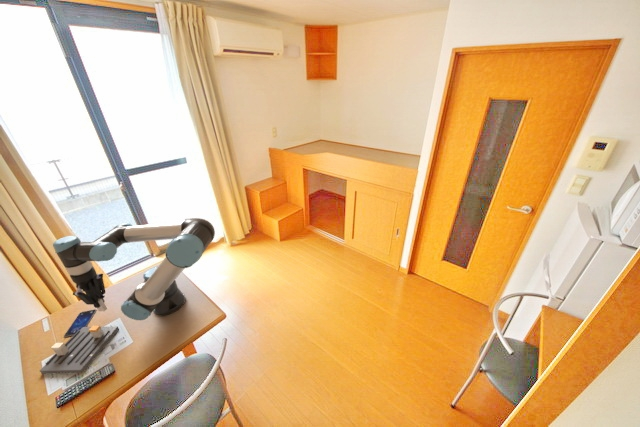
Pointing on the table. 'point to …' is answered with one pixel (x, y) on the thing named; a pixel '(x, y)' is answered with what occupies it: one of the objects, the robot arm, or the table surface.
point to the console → (79, 351)
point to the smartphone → (80, 322)
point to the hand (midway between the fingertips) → (102, 310)
